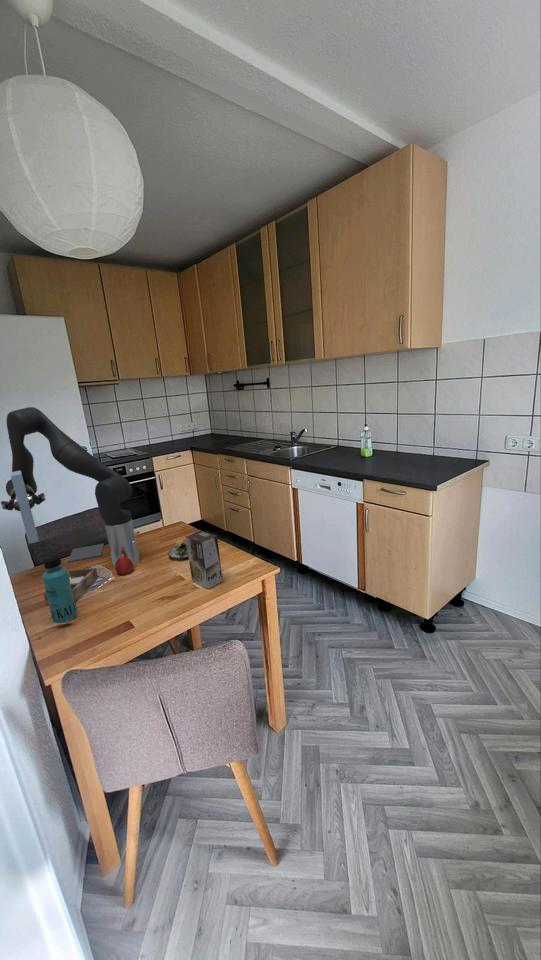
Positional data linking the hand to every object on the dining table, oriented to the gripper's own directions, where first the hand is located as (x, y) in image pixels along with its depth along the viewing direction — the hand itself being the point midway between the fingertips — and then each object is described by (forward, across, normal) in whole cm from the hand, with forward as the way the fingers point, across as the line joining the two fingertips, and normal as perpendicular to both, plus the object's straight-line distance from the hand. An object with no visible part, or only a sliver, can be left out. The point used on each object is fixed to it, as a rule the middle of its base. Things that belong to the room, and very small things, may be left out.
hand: (24, 506), depth 128 cm
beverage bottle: (+34, +4, +28) cm, 44 cm away
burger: (+15, +46, +28) cm, 56 cm away
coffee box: (+40, +44, +28) cm, 66 cm away
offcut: (+16, +8, +26) cm, 32 cm away
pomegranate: (+17, +24, +28) cm, 41 cm away
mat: (-14, +16, +28) cm, 35 cm away
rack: (+18, +7, +28) cm, 34 cm away
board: (-4, 0, +13) cm, 14 cm away
